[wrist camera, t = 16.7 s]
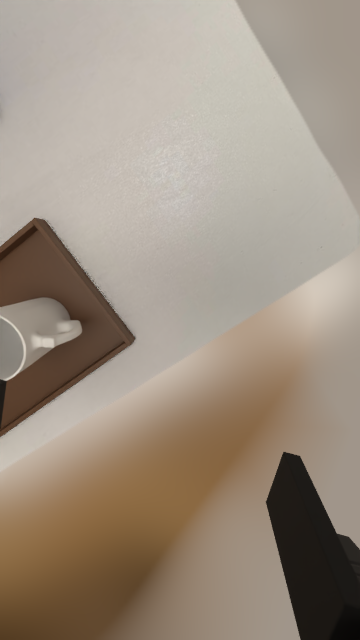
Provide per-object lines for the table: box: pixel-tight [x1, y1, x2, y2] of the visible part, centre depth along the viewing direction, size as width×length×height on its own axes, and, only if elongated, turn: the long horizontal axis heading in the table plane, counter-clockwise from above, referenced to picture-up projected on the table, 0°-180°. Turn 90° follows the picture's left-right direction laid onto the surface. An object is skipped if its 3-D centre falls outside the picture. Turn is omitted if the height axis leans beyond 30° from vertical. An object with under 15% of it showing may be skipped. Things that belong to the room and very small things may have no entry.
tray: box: [0, 218, 135, 437], centre depth 42 cm, size 29×18×2 cm, turn 126°
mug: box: [0, 298, 82, 381], centre depth 36 cm, size 10×7×12 cm, turn 92°
